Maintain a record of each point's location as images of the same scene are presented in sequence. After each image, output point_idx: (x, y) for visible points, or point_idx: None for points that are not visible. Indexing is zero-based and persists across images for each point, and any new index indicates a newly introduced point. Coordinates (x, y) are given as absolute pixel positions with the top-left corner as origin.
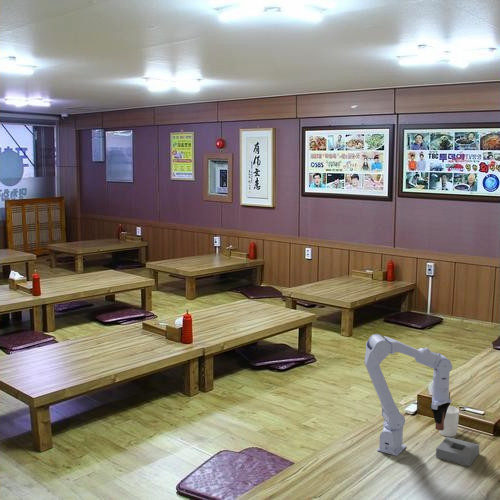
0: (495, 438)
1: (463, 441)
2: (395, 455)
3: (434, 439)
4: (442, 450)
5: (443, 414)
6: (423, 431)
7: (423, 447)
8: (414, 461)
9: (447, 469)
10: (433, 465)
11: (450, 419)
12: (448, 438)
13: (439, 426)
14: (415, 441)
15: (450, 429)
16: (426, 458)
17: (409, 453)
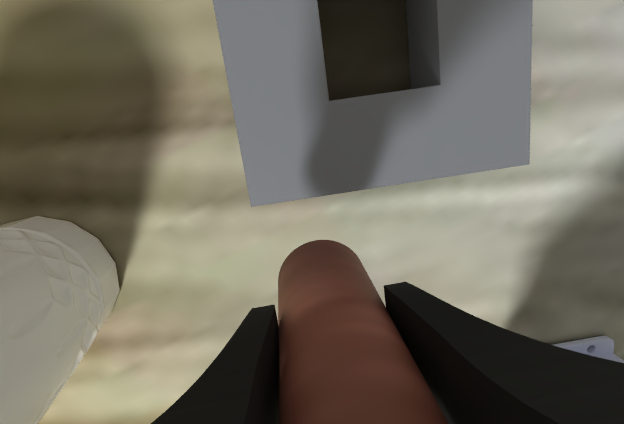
0: None
1: (237, 37)
2: (610, 342)
3: (228, 295)
4: (528, 109)
5: (373, 353)
6: (168, 402)
7: None
8: (612, 230)
9: (612, 5)
10: (604, 112)
11: (8, 309)
12: (276, 178)
13: (372, 283)
14: None
15: (68, 259)
16: (533, 195)
17: (527, 304)
